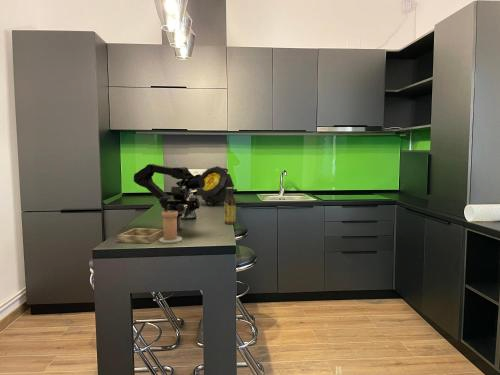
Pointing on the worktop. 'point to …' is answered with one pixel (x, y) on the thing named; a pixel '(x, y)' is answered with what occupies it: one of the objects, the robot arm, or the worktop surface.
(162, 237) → the ceramic saucer
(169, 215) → the terracotta pot
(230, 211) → the sauce bottle
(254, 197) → the worktop surface
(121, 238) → the pine frame
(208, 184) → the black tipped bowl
